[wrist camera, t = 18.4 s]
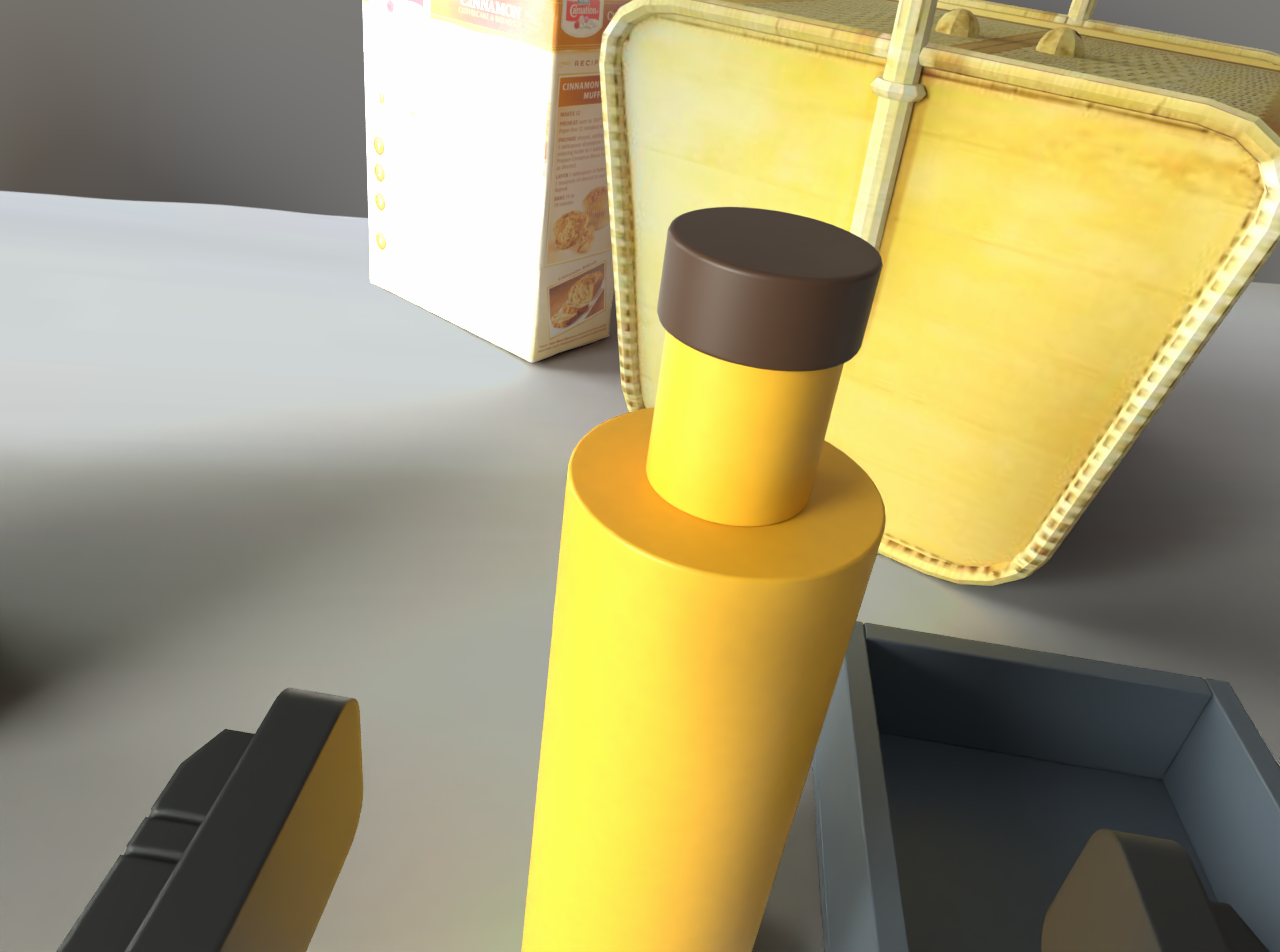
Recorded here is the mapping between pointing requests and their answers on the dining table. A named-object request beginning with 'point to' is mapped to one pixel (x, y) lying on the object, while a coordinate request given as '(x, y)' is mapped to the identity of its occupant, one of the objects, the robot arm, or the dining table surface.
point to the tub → (1023, 789)
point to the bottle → (704, 597)
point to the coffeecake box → (491, 166)
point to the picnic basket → (960, 229)
